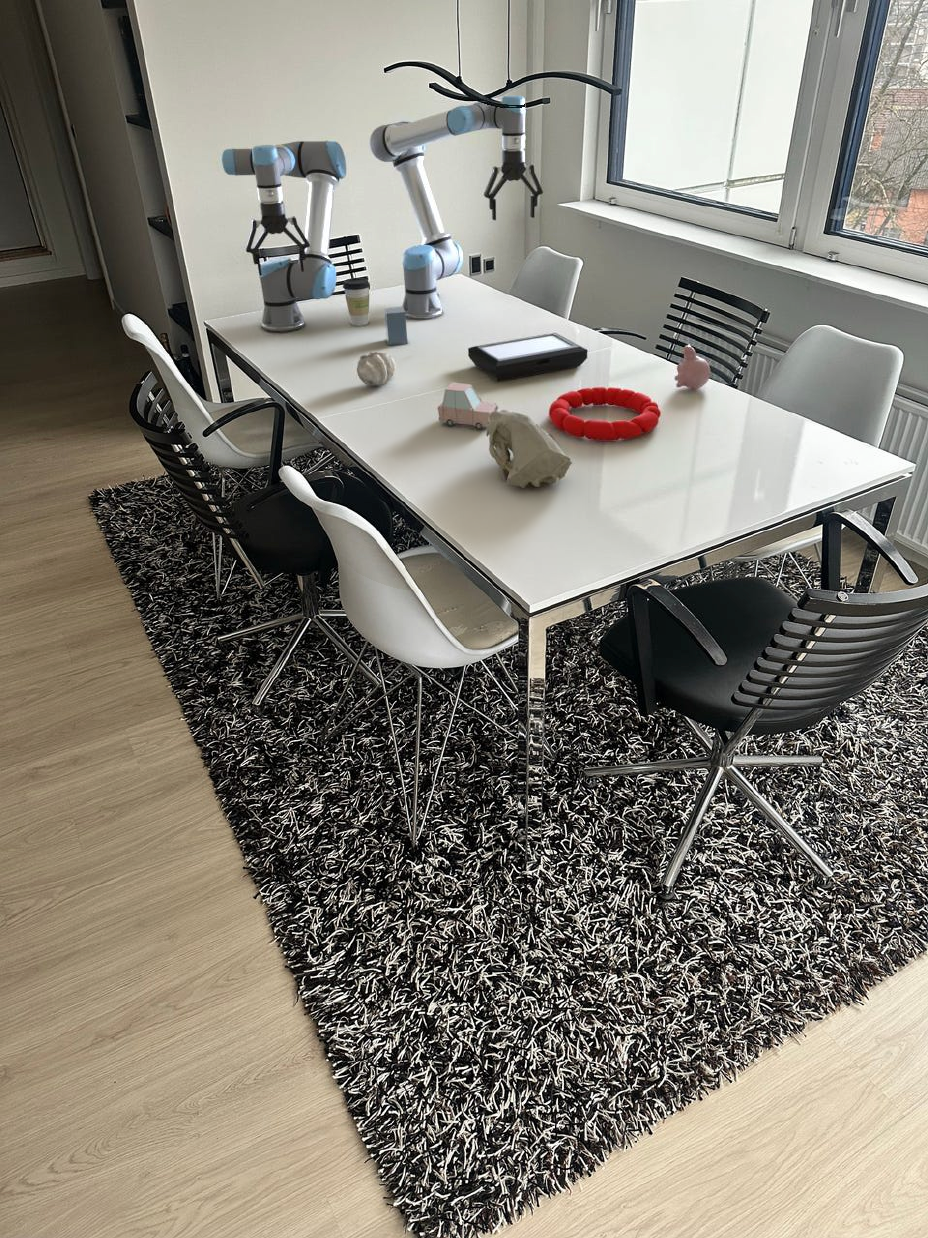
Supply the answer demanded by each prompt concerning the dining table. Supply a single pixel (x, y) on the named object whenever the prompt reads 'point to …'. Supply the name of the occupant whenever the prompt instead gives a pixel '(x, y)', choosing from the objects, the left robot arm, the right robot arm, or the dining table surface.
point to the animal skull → (525, 450)
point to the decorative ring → (604, 428)
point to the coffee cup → (357, 300)
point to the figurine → (692, 370)
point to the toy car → (465, 406)
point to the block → (395, 326)
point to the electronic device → (527, 356)
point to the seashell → (375, 368)
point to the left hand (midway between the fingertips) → (281, 272)
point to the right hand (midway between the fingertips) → (513, 218)
